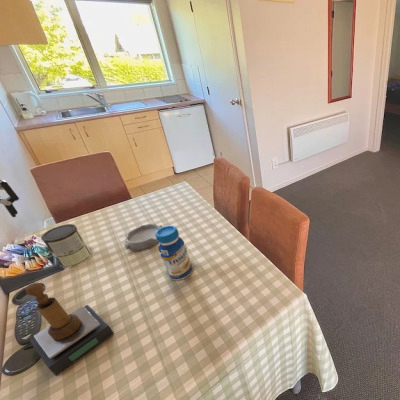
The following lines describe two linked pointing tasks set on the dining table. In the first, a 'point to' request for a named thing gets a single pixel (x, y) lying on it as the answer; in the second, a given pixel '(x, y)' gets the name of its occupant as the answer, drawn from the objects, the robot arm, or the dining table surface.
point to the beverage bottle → (174, 253)
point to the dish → (142, 237)
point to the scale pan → (58, 346)
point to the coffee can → (67, 245)
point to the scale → (75, 346)
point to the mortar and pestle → (54, 313)
